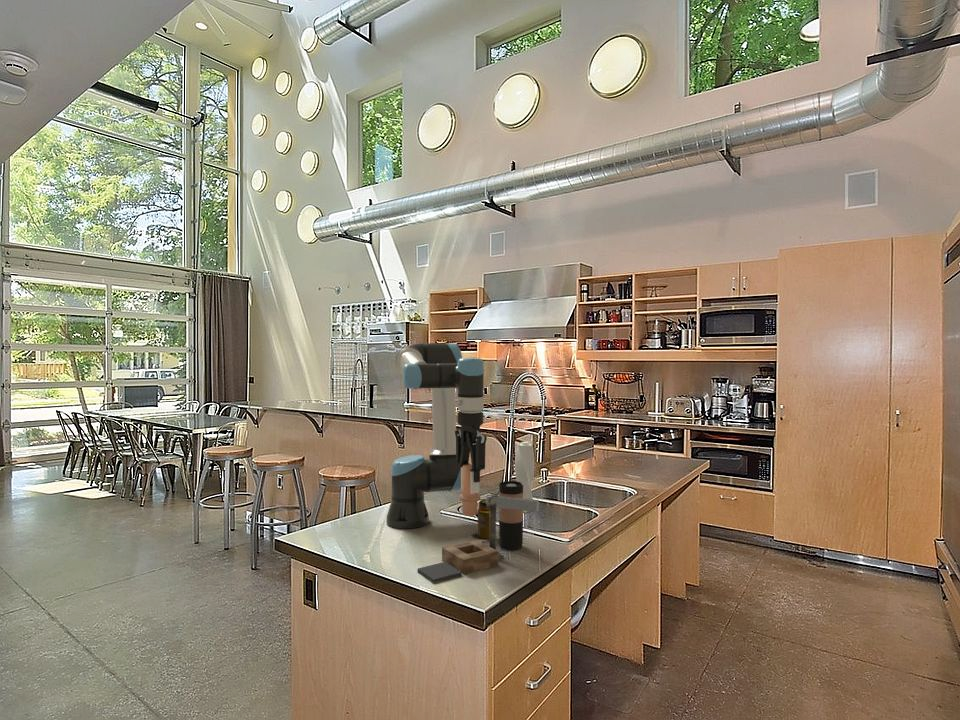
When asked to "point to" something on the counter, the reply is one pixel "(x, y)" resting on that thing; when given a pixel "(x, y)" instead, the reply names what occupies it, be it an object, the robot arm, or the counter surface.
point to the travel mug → (511, 518)
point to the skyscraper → (525, 468)
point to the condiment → (482, 523)
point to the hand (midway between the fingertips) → (470, 490)
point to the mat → (439, 572)
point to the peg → (468, 494)
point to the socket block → (474, 551)
